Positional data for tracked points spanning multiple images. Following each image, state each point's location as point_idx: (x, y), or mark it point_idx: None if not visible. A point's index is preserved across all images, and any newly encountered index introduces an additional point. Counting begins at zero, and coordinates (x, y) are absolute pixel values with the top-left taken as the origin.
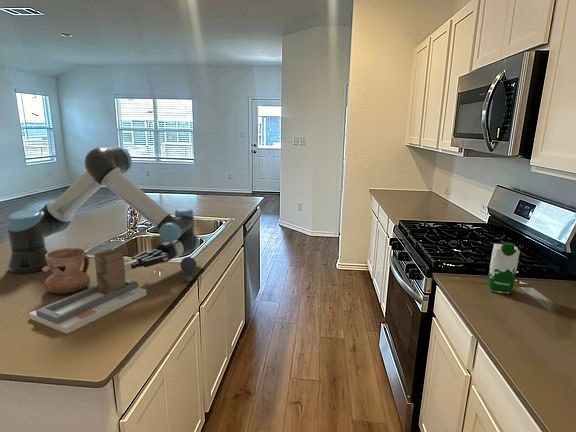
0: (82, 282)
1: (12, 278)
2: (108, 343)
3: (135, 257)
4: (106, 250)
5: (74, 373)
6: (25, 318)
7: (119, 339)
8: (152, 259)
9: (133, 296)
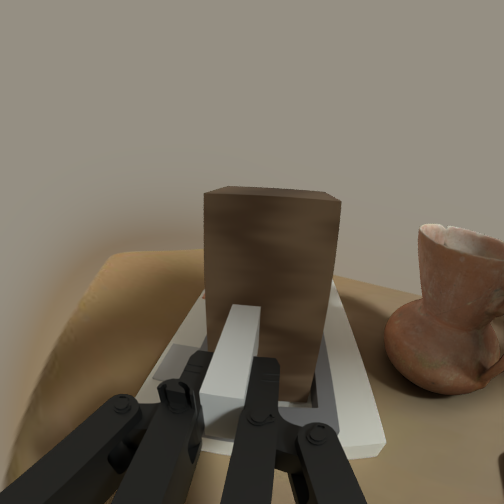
0: (395, 343)
1: None
2: (132, 277)
3: (301, 453)
4: (331, 197)
5: (146, 253)
6: (337, 287)
7: (118, 283)
8: (60, 442)
9: (153, 371)
